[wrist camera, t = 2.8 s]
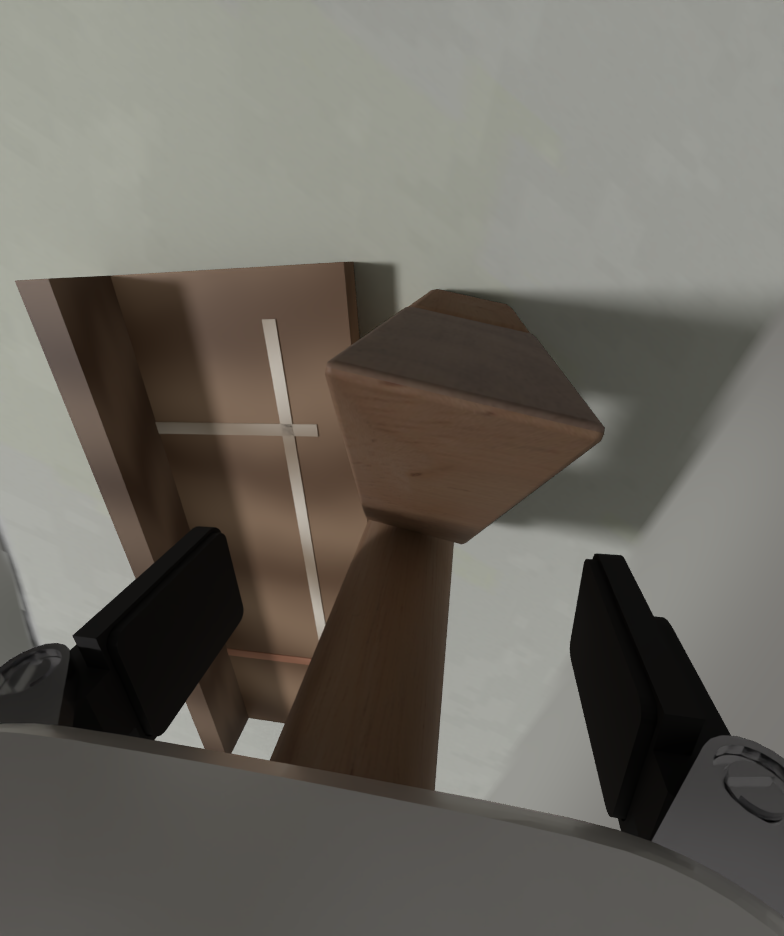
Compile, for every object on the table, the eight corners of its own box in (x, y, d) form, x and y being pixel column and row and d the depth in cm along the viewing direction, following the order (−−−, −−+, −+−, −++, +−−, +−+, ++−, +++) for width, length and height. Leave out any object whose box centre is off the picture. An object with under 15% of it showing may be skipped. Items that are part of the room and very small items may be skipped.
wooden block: (515, 305, 17) (941, 811, 1) (450, 517, 22) (387, 1148, 6) (428, 286, 18) (-5, 540, 2) (383, 499, 23) (165, 1064, 7)
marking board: (106, 275, 20) (14, 280, 16) (353, 261, 18) (317, 262, 14) (240, 696, 33) (207, 756, 29) (390, 717, 31) (378, 786, 27)
